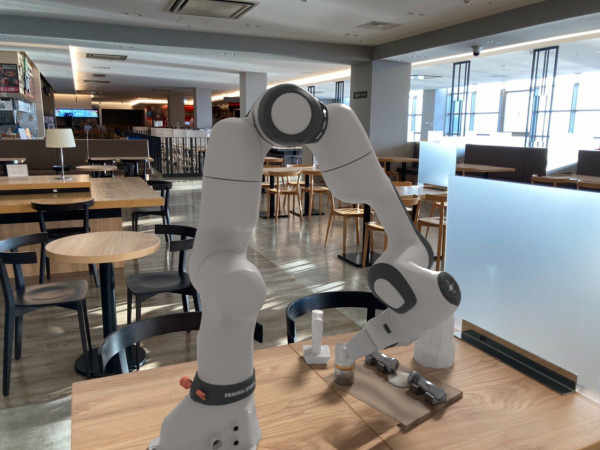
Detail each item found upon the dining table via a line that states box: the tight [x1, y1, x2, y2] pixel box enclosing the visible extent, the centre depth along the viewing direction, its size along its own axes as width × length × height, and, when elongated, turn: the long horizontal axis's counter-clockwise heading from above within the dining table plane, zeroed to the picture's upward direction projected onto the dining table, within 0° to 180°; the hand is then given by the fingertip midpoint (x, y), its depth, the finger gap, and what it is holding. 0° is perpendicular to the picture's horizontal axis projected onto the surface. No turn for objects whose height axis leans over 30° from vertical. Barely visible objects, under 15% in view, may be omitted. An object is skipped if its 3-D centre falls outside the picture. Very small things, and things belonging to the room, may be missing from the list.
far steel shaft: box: [364, 350, 400, 374], centre depth 127 cm, size 9×4×4 cm, turn 31°
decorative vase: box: [413, 275, 456, 370], centre depth 132 cm, size 11×11×25 cm
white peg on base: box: [302, 309, 332, 365], centre depth 130 cm, size 7×9×15 cm
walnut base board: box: [321, 359, 464, 431], centre depth 118 cm, size 22×26×2 cm
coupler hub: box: [333, 342, 356, 386], centre depth 119 cm, size 5×5×9 cm
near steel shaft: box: [407, 370, 447, 406], centre depth 113 cm, size 9×4×4 cm, turn 31°
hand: (365, 351), depth 113 cm, fingers open, 8 cm apart
